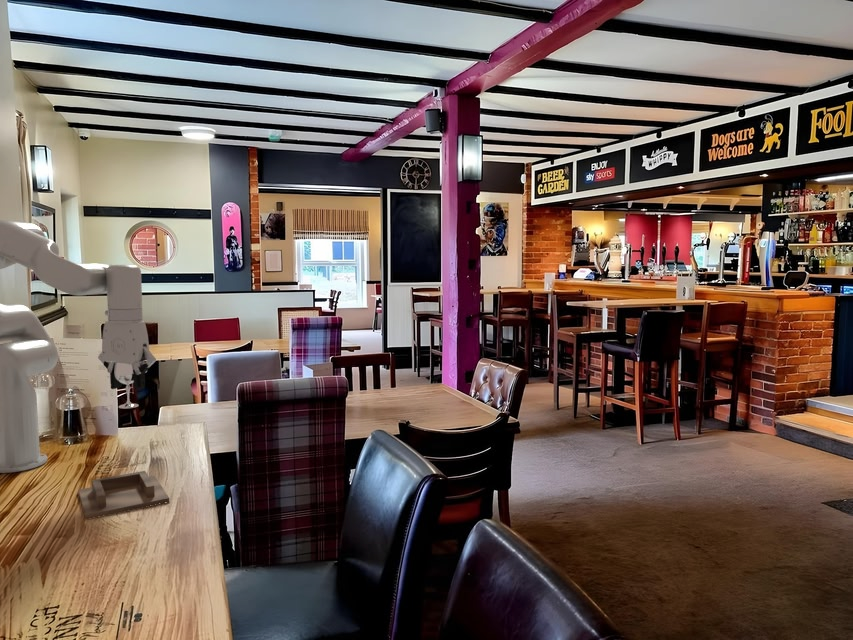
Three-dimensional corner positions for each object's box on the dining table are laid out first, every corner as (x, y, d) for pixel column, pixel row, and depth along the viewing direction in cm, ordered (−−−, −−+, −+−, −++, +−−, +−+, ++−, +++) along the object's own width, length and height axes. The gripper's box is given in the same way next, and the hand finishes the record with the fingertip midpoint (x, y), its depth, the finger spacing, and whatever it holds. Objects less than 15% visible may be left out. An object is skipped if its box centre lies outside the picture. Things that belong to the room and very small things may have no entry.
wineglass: (146, 404, 150) (144, 356, 148) (132, 409, 144) (130, 360, 143) (124, 402, 150) (123, 356, 149) (110, 408, 144) (108, 359, 143)
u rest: (78, 493, 135) (77, 478, 134) (155, 479, 144) (154, 465, 144) (85, 519, 122) (85, 503, 121) (169, 502, 131) (168, 486, 130)
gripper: (82, 315, 143) (86, 389, 145) (146, 318, 139) (149, 394, 141) (105, 313, 150) (108, 383, 152) (166, 315, 147) (168, 387, 149)
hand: (127, 388), depth 147 cm, fingers closed on wineglass, 5 cm apart
